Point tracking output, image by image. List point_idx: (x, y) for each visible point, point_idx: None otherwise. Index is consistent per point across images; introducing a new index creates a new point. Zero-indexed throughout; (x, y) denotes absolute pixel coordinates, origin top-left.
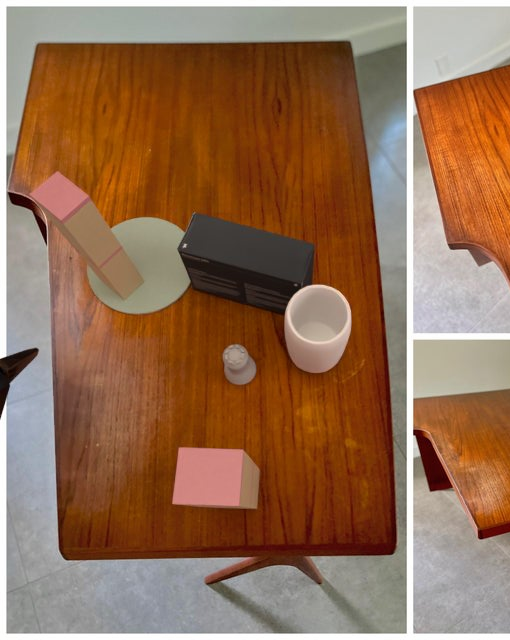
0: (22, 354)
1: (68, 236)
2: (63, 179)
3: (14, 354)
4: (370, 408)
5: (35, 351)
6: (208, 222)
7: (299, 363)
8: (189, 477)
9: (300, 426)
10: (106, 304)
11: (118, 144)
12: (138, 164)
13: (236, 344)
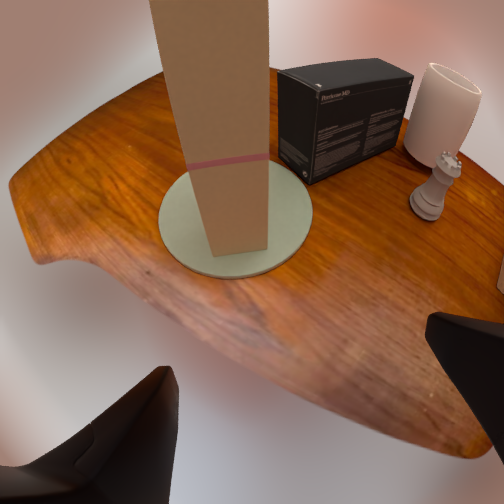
0: (486, 325)
1: (218, 83)
2: None
3: (499, 335)
4: (474, 167)
5: (451, 314)
6: (302, 69)
7: (452, 153)
8: None
9: (480, 207)
10: (253, 272)
11: (98, 164)
12: (129, 158)
13: (437, 156)
